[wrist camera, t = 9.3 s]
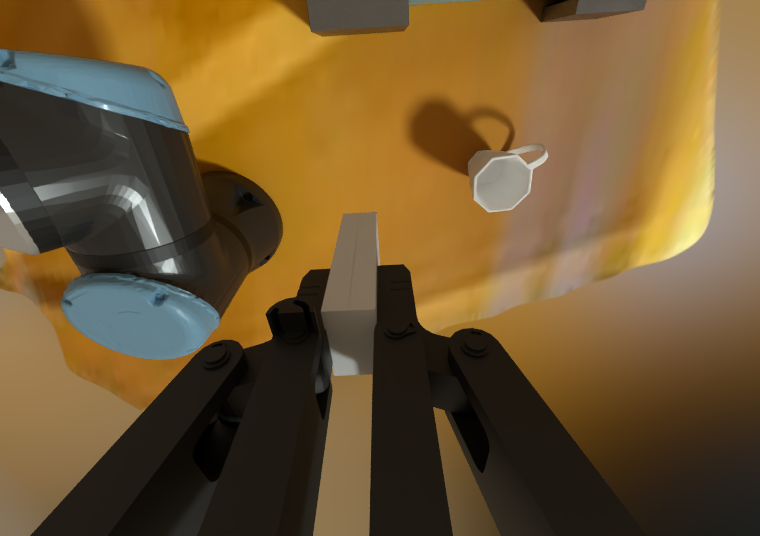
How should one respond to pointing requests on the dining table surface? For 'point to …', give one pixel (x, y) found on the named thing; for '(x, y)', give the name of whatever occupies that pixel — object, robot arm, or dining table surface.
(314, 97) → the dining table surface
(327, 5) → the gray block
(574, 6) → the socket
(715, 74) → the dining table surface
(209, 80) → the dining table surface
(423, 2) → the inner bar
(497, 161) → the cup
